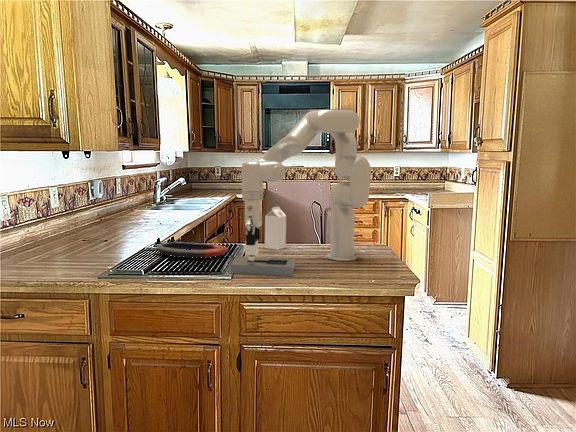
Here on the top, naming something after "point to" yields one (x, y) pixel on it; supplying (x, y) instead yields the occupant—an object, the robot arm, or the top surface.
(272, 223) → the milk carton
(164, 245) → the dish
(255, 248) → the peg
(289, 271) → the keyhole plate
